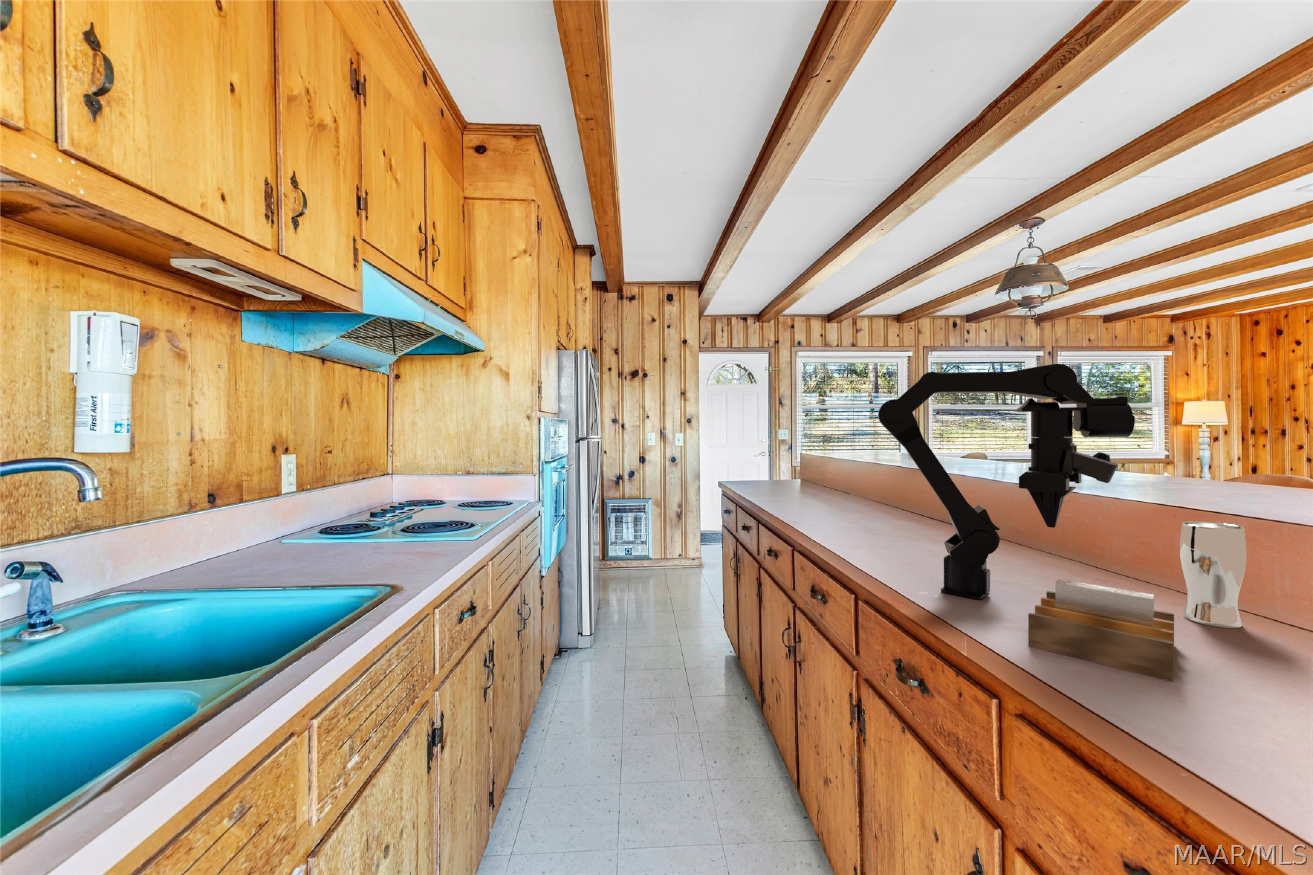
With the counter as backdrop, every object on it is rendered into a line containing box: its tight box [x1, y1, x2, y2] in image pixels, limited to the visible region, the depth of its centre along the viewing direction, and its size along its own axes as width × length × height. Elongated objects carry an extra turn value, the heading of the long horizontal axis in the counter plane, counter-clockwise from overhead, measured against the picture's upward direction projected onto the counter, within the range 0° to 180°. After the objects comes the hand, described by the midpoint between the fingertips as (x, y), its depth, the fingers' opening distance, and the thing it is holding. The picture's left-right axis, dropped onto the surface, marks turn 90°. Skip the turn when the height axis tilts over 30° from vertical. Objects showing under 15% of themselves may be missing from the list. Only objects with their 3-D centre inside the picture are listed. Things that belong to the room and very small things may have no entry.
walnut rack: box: [1027, 590, 1175, 682], centre depth 70 cm, size 14×14×4 cm
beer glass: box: [1179, 520, 1248, 629], centre depth 78 cm, size 7×7×15 cm
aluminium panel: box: [1055, 578, 1155, 627], centre depth 70 cm, size 10×2×7 cm, turn 43°
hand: (1051, 527), depth 88 cm, fingers closed
